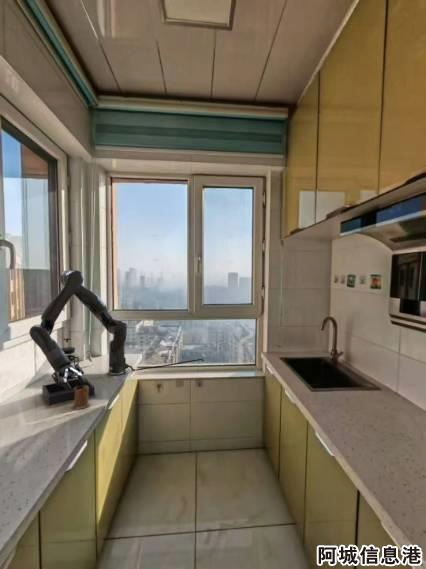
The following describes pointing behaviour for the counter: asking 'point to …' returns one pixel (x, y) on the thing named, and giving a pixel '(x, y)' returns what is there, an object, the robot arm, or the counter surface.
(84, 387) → the brown cup
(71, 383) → the dark square tray
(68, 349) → the french press
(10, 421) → the counter surface
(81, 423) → the counter surface
